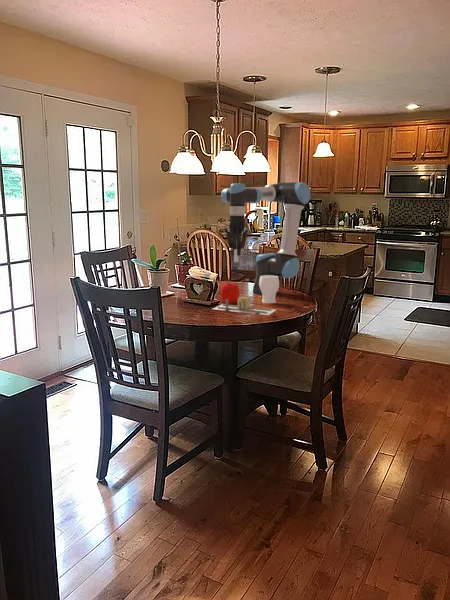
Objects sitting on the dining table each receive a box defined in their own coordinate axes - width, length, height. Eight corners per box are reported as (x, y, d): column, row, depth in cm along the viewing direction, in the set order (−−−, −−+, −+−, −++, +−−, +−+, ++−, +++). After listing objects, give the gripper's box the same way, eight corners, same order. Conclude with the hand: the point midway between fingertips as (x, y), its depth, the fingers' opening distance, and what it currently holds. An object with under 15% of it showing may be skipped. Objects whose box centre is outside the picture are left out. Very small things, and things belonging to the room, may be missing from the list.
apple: (234, 302, 273) (234, 280, 271) (242, 306, 264) (243, 283, 262) (217, 304, 269) (217, 281, 266) (225, 308, 260) (225, 284, 258)
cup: (277, 307, 262) (278, 278, 259) (257, 306, 264) (257, 277, 261) (279, 302, 272) (280, 275, 269) (260, 302, 274) (260, 274, 271)
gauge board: (221, 307, 262) (221, 294, 261) (276, 312, 250) (277, 299, 249) (211, 312, 251) (211, 298, 250) (268, 318, 239) (268, 304, 238)
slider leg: (241, 307, 254) (241, 296, 252) (250, 308, 252) (250, 297, 250) (235, 311, 247) (235, 299, 245) (244, 312, 245) (244, 300, 243)
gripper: (222, 214, 252) (221, 261, 256) (246, 215, 246) (245, 263, 251) (228, 214, 258) (227, 260, 263) (252, 215, 253) (250, 262, 258)
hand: (236, 261), depth 257 cm, fingers closed
